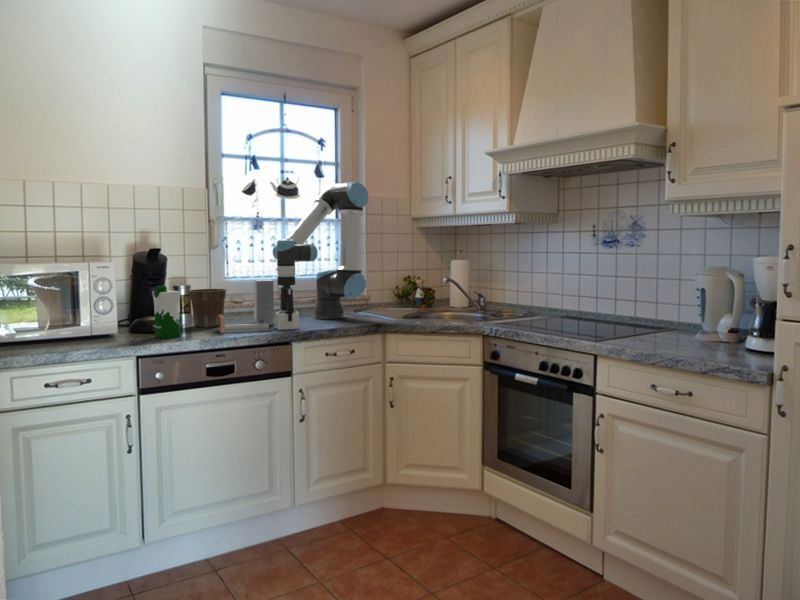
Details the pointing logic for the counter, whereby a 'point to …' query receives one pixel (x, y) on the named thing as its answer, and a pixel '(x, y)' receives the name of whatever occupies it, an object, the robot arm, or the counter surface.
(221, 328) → the rail dock
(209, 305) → the plant pot
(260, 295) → the hard drive box
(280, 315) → the din module
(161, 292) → the milk carton
